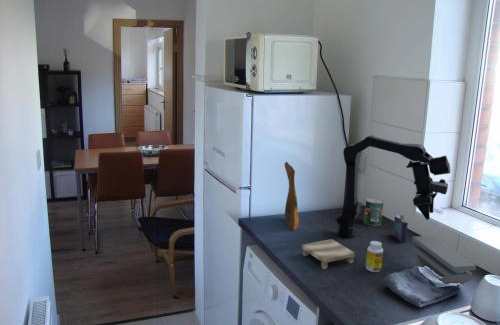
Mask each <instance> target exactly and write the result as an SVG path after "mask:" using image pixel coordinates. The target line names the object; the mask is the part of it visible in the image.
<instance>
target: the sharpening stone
mask: <svg viewBox="0 0 500 325" xmlns="http://www.w3.org/2000/svg"><path fill="white" fill-rule="evenodd" d="M411 241H412V242H413V243H415V244H416V245H413V247H412V255H413V258H414V261H415V264H416V267H417V266H419V267H424V266H427V267H429V268H430V269H431V270H433V271H434V272H435V273H436V274H438V275H439V276H441V277H443V278H441V279H439V280H440V281H442V282H443V283H444V284H449V283H460V284H461V285H460V286H463V285H464V284H466V283H469V282H470V281H472V278H473V273H472V272H471V271H476V269H477V265H476V264H474V263H473V262H471V261H470V260H469V259H467V258H466V257H464V256H462V255H461V254H460V253H458V252H457V251H455V250H453V249H452V248H451V247H449V246H448V245H447V244H445V243H443V242H442V241H440V239H437V238H436V237H434V236H433V235H421V236H419V235H417V236H412V238H411Z"/></svg>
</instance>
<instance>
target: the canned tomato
mask: <svg viewBox="0 0 500 325" xmlns="http://www.w3.org/2000/svg"><path fill="white" fill-rule="evenodd" d="M383 208H384V200H383V199H380V198H377V197H368V198H366V199H365V206H364V215H363V216H364V217H363V224H365V225H367V226H372V227H377V226H381V225H382V218H383V211H384V209H383Z"/></svg>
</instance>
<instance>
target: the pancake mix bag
mask: <svg viewBox="0 0 500 325" xmlns="http://www.w3.org/2000/svg"><path fill="white" fill-rule="evenodd" d="M284 169H285V172H286V176H287V180H288V193H287V197H286V201H285V202H286V203H285V209H284V218H285V219H284V220H285V224H286V228H287V230H290V231H293V232H295V230H298V227H299V206H298V198H297V190H296V186H295V185H296V184H295V174H296V170H295V169H294V168H293V166H292V165H290V164H289V162H288V161H285V162H284Z"/></svg>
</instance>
